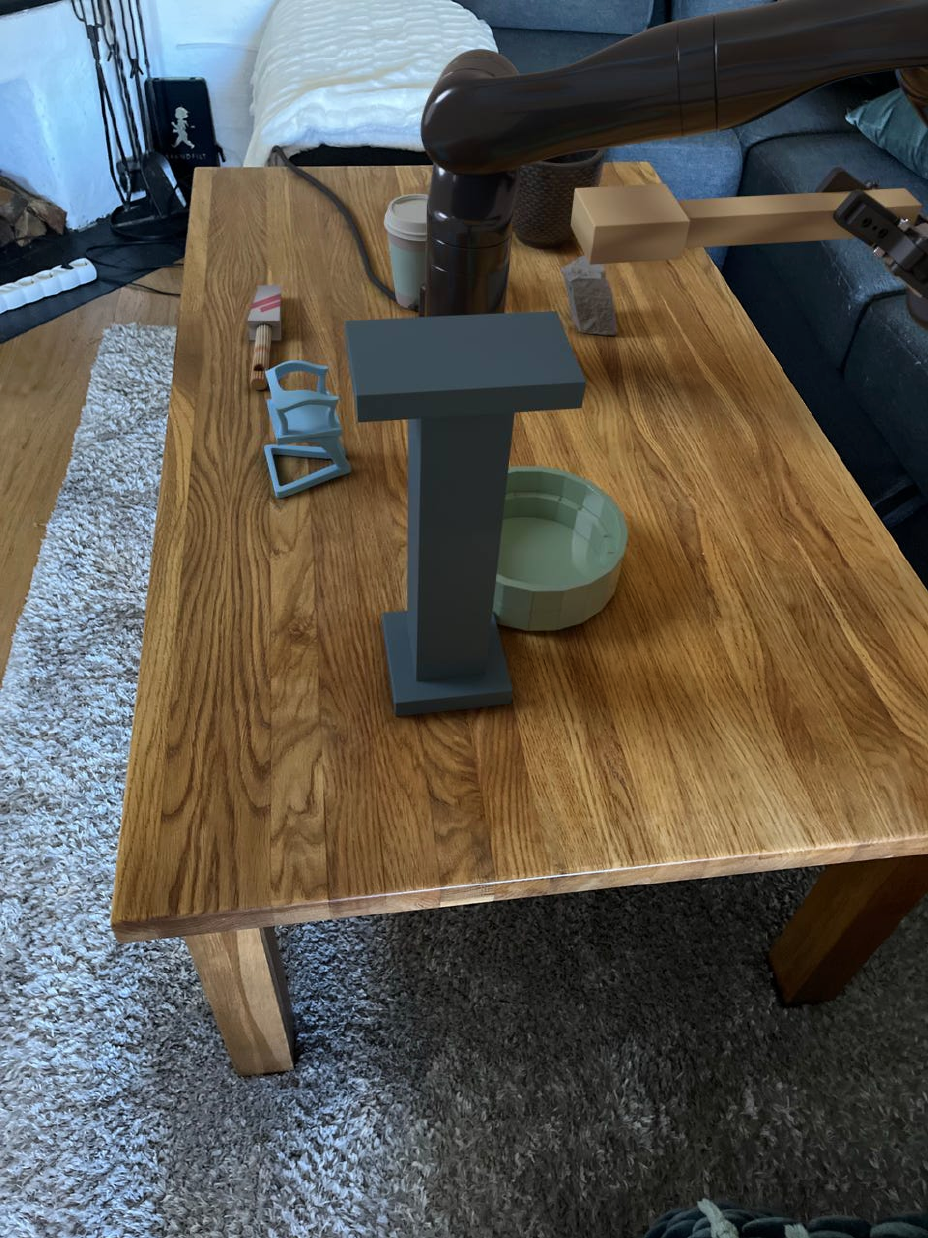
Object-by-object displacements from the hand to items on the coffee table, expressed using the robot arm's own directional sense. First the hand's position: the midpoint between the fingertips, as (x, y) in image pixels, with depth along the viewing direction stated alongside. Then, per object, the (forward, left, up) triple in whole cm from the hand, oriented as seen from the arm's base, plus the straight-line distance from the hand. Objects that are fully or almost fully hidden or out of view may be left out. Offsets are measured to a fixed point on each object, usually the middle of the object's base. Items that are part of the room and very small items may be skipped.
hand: (836, 193), depth 59 cm
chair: (-38, -18, -39) cm, 57 cm away
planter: (-61, +37, -39) cm, 81 cm away
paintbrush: (-60, -9, -39) cm, 73 cm away
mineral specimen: (-41, +26, -39) cm, 62 cm away
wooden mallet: (-3, -5, -3) cm, 6 cm away
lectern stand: (-9, -23, -39) cm, 46 cm away
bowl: (-13, -9, -39) cm, 42 cm away
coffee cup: (-58, +12, -39) cm, 71 cm away
